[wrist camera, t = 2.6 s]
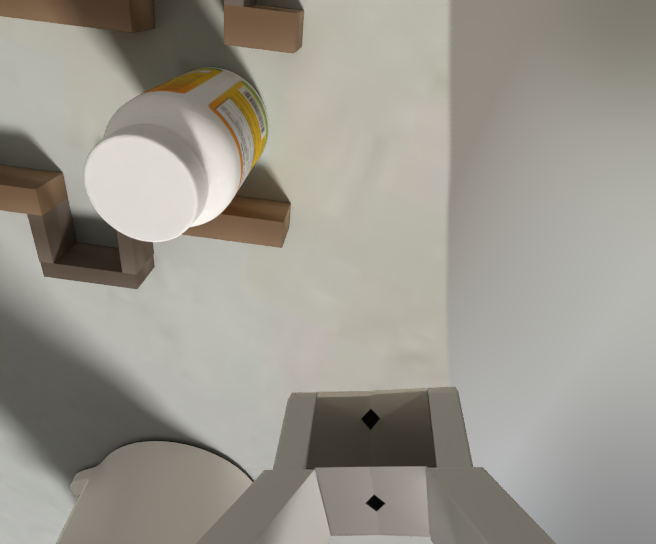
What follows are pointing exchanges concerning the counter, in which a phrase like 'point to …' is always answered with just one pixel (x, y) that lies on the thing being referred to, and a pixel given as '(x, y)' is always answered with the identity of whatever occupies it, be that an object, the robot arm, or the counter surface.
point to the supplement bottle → (177, 154)
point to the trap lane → (49, 187)
